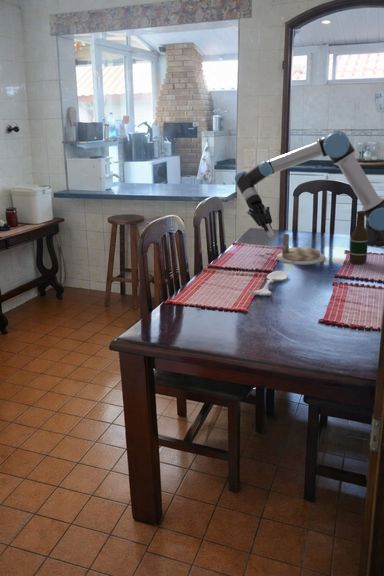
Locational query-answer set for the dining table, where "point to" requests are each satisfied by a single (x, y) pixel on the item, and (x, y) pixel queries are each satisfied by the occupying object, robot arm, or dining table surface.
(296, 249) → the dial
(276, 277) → the spoon
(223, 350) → the dining table surface
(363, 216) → the beer bottle
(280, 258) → the white plate
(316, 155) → the robot arm
